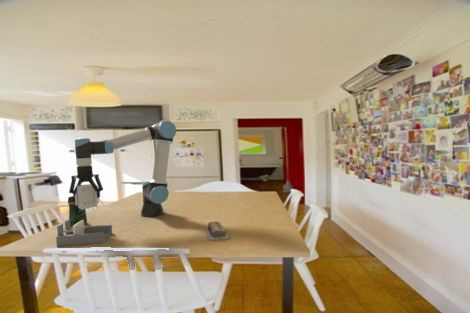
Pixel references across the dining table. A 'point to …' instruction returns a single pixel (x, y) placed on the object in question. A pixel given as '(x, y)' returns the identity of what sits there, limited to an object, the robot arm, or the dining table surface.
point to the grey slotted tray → (82, 235)
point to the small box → (86, 196)
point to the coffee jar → (75, 212)
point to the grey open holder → (77, 228)
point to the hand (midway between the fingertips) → (87, 204)
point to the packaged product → (216, 231)
